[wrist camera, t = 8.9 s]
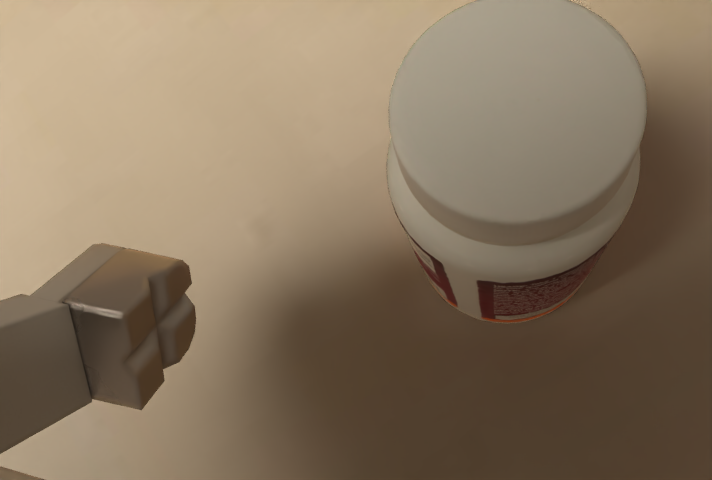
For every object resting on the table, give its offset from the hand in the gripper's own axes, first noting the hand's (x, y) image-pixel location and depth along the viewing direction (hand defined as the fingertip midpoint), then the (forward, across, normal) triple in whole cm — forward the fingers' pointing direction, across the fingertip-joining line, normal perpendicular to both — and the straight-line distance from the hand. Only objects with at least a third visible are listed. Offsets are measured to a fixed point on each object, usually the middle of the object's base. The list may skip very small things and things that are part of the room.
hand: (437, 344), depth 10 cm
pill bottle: (+9, 0, +3) cm, 9 cm away
